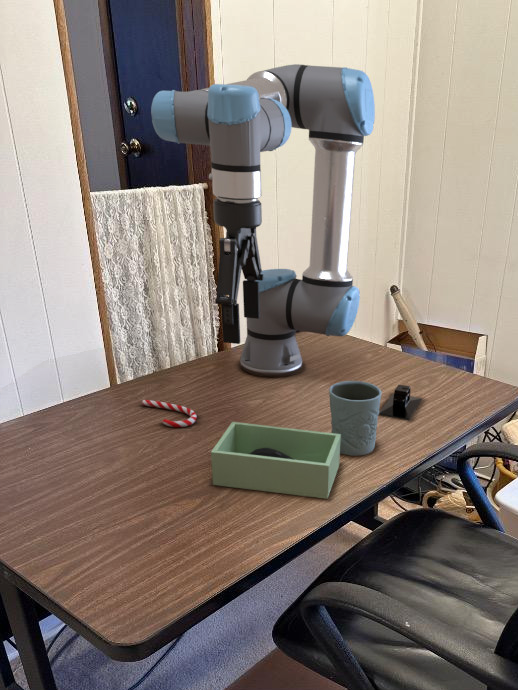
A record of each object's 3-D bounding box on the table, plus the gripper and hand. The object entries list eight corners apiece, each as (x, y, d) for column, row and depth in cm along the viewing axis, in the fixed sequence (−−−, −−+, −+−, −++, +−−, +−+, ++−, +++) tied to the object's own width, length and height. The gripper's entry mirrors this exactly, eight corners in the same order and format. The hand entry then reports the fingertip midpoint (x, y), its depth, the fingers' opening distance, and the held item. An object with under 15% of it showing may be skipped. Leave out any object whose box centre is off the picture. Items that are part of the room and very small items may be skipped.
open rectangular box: (233, 452, 133) (232, 421, 129) (339, 465, 131) (340, 434, 128) (212, 485, 122) (210, 451, 118) (327, 499, 121) (329, 465, 117)
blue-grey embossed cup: (368, 461, 133) (372, 404, 127) (319, 451, 136) (321, 394, 129) (383, 440, 142) (387, 385, 136) (336, 430, 144) (339, 376, 138)
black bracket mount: (409, 420, 151) (411, 401, 149) (377, 414, 153) (378, 395, 150) (421, 399, 161) (423, 380, 159) (391, 394, 163) (393, 375, 160)
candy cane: (154, 394, 150) (205, 413, 144) (154, 400, 151) (206, 418, 144) (125, 405, 144) (178, 425, 138) (126, 411, 145) (178, 431, 139)
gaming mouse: (309, 488, 122) (310, 468, 120) (233, 471, 125) (233, 451, 123) (322, 472, 127) (323, 453, 125) (249, 456, 130) (248, 437, 128)
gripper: (234, 185, 120) (239, 306, 131) (188, 210, 99) (199, 352, 110) (277, 188, 119) (278, 310, 131) (240, 214, 98) (245, 356, 110)
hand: (242, 329), depth 120 cm, fingers open, 13 cm apart
